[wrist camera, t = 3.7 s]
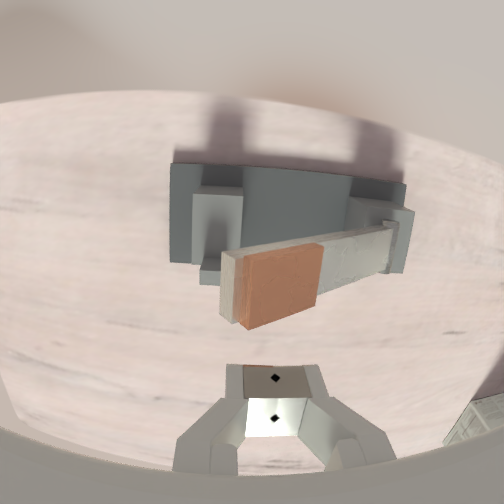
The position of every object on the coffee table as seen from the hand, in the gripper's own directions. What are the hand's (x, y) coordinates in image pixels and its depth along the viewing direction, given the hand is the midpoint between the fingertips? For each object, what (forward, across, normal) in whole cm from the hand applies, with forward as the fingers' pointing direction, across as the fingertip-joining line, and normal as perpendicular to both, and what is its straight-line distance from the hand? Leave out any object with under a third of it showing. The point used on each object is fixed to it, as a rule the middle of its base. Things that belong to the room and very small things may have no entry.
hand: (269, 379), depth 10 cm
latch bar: (+12, -5, 0) cm, 13 cm away
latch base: (+23, -4, 0) cm, 24 cm away
